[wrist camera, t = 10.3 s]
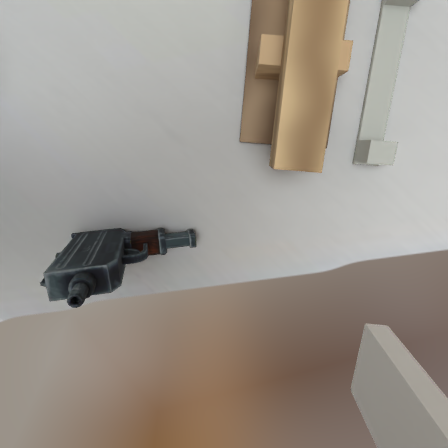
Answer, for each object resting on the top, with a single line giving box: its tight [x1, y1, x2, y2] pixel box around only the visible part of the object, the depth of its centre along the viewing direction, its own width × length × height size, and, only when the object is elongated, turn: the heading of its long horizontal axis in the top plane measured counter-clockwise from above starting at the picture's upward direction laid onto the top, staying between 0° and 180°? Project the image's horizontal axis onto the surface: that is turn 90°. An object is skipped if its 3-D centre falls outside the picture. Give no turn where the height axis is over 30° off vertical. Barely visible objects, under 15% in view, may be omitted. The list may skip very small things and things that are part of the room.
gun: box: [40, 228, 196, 308], centre depth 33 cm, size 3×17×15 cm
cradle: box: [353, 0, 419, 166], centre depth 33 cm, size 3×19×4 cm, turn 175°
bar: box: [269, 0, 349, 173], centre depth 26 cm, size 4×20×4 cm, turn 176°
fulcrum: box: [240, 0, 353, 148], centre depth 31 cm, size 10×16×8 cm, turn 176°
